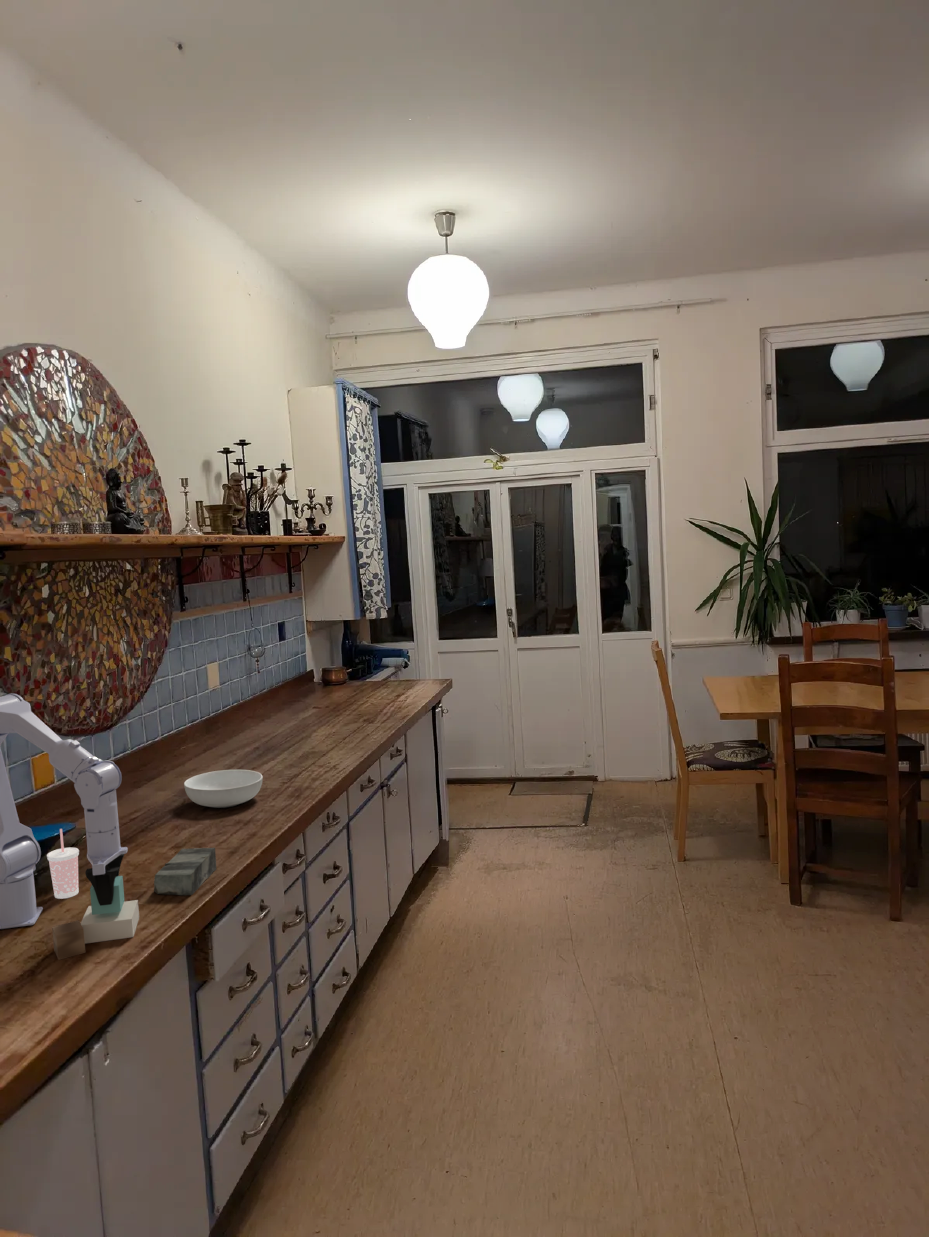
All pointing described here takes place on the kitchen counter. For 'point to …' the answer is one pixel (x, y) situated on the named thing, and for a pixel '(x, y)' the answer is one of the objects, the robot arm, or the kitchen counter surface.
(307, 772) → the kitchen counter surface
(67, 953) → the walnut cube
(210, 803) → the serving bowl
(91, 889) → the teal cube
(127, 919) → the ceramic base
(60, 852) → the beverage cup
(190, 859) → the stone block
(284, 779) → the kitchen counter surface
